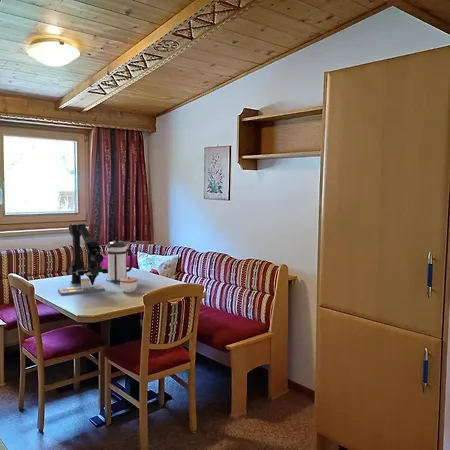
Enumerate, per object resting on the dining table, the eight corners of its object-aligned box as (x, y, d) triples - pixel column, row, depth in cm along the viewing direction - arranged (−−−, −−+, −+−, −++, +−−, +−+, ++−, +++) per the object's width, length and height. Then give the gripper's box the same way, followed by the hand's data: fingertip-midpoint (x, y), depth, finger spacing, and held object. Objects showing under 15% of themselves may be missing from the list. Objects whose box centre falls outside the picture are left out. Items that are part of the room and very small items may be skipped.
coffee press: (127, 283, 306) (126, 239, 303) (103, 282, 306) (102, 238, 303) (132, 277, 323) (132, 235, 320) (110, 277, 323) (110, 235, 320)
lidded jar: (141, 290, 287) (141, 276, 286) (129, 294, 278) (128, 279, 277) (128, 288, 293) (128, 274, 292) (116, 291, 284) (116, 277, 283)
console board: (57, 290, 283) (57, 288, 283) (99, 286, 296) (99, 283, 296) (61, 295, 273) (61, 292, 273) (104, 290, 286) (104, 288, 286)
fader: (80, 287, 286) (80, 278, 286) (87, 286, 289) (87, 278, 288) (82, 288, 283) (82, 280, 282) (89, 288, 285) (89, 279, 284)
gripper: (79, 264, 275) (80, 289, 276) (110, 261, 284) (110, 286, 286) (75, 261, 284) (76, 285, 286) (105, 258, 293) (105, 282, 295)
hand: (92, 285), depth 288 cm, fingers closed
